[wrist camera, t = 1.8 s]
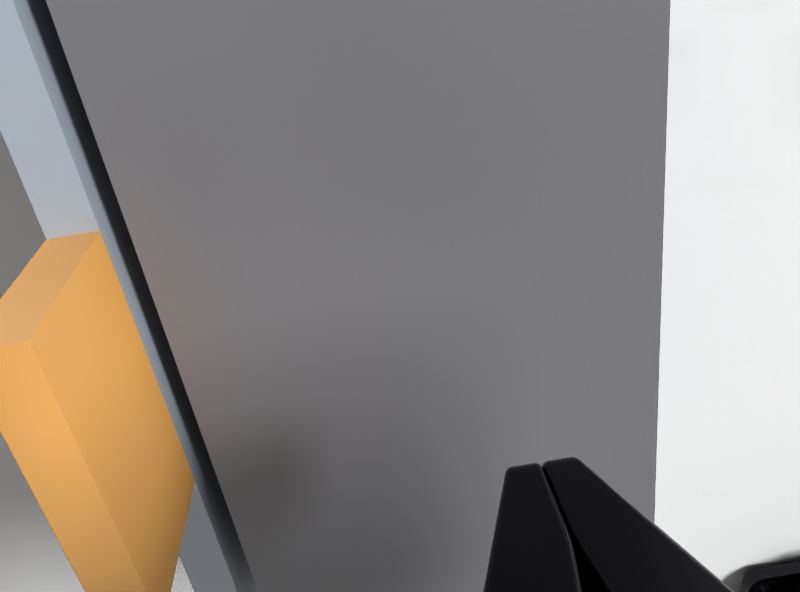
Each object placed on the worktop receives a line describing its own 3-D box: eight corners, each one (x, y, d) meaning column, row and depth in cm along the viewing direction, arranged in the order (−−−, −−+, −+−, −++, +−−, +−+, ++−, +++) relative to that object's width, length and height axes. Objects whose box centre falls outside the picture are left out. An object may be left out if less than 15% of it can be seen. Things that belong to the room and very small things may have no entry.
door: (283, 507, 20) (259, 820, 14) (246, 514, 20) (204, 828, 14) (67, -191, 12) (-238, -257, 6) (7, -181, 12) (-368, -236, 6)
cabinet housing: (584, 450, 21) (651, 604, 16) (294, 498, 21) (284, 665, 16) (558, -365, 12) (685, -495, 8) (63, -281, 12) (-84, -364, 8)
